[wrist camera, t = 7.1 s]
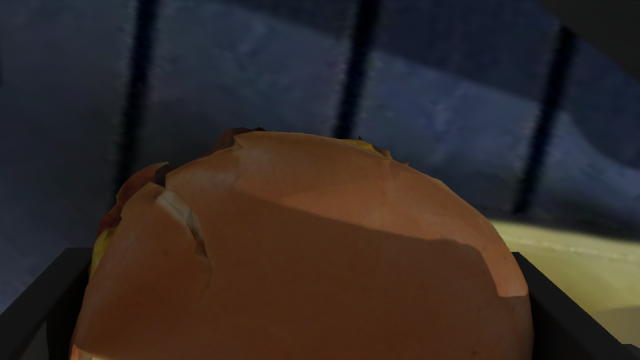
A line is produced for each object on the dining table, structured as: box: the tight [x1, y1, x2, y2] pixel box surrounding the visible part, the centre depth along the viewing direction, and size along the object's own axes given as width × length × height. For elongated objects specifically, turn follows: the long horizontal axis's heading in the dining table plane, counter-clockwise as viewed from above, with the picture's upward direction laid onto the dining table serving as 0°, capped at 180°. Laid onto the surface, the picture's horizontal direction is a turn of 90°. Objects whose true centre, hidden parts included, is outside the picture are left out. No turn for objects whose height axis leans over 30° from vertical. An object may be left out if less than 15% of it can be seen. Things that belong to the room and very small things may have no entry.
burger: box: [68, 127, 535, 360], centre depth 13 cm, size 10×9×5 cm
